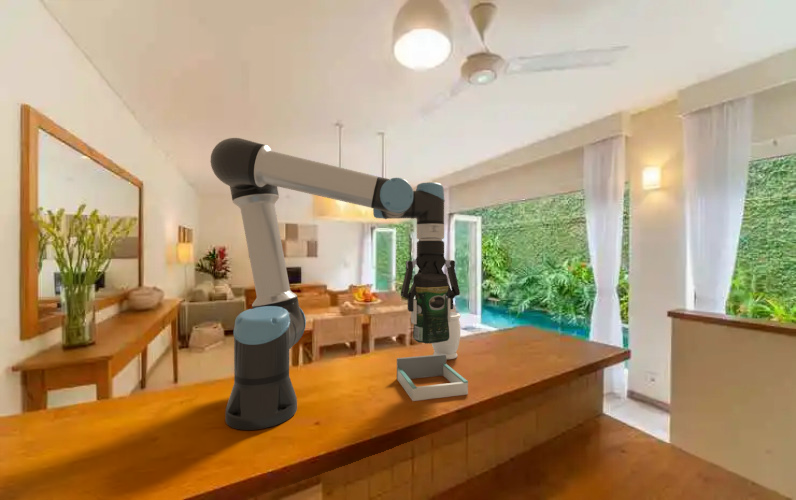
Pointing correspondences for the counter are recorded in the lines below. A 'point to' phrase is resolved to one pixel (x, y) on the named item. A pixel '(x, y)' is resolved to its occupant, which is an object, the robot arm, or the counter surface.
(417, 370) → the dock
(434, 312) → the coffee jar
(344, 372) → the counter surface
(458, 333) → the jar
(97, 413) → the counter surface
